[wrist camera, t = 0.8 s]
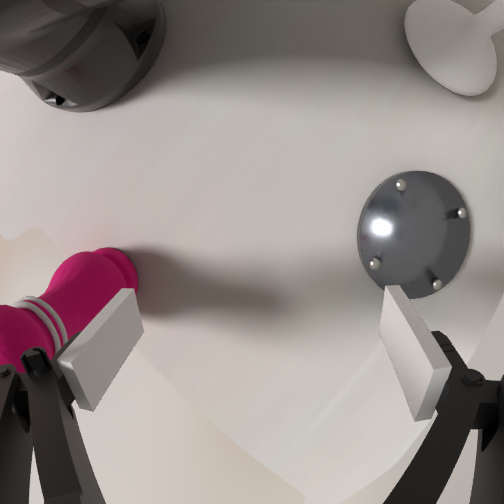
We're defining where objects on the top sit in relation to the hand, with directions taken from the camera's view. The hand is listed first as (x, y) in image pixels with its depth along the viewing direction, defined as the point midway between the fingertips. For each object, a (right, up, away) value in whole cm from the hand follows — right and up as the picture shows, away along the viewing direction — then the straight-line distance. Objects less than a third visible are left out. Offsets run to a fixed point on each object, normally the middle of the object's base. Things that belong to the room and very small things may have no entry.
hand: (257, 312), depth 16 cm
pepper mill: (-14, 0, +14) cm, 20 cm away
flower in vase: (+19, +24, +7) cm, 32 cm away
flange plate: (+15, +5, +12) cm, 20 cm away
